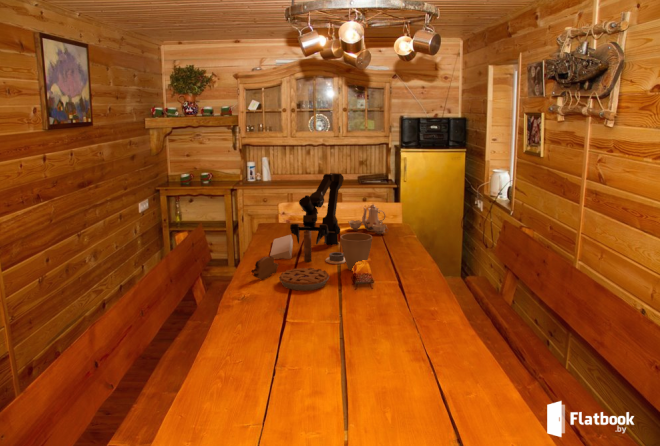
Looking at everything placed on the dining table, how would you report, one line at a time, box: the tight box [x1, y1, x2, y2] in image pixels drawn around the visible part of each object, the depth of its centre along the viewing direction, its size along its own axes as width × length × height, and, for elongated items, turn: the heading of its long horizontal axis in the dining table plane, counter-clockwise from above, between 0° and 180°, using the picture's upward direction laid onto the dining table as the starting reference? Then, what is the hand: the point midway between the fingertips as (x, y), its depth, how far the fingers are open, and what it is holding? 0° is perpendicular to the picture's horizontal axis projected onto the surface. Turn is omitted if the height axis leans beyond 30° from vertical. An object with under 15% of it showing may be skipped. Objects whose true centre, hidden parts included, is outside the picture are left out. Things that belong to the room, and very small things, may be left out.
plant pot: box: [339, 232, 373, 271], centre depth 264 cm, size 15×15×16 cm
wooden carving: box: [250, 255, 279, 280], centre depth 253 cm, size 16×5×10 cm, turn 150°
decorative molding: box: [269, 234, 294, 260], centre depth 300 cm, size 34×5×10 cm
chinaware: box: [347, 203, 389, 235], centre depth 341 cm, size 28×17×17 cm, turn 58°
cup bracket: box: [325, 251, 346, 265], centre depth 280 cm, size 11×11×3 cm
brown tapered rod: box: [303, 231, 312, 263], centre depth 278 cm, size 4×4×15 cm
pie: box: [278, 267, 330, 292], centre depth 246 cm, size 22×22×5 cm
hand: (307, 243), depth 278 cm, fingers open, 9 cm apart
